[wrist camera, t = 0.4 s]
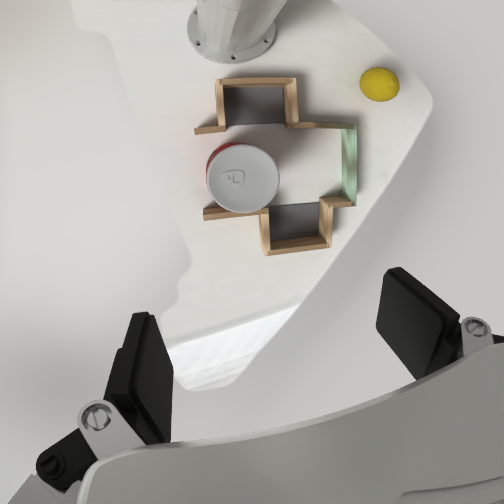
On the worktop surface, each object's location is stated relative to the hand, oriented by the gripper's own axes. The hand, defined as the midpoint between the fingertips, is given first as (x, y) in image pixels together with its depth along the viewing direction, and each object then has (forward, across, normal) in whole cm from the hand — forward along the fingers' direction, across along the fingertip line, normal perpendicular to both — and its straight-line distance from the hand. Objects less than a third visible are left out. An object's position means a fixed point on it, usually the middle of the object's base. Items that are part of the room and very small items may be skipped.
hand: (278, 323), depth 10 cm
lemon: (+32, -24, -15) cm, 43 cm away
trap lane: (+32, -8, -2) cm, 33 cm away
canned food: (+32, -2, -2) cm, 33 cm away
